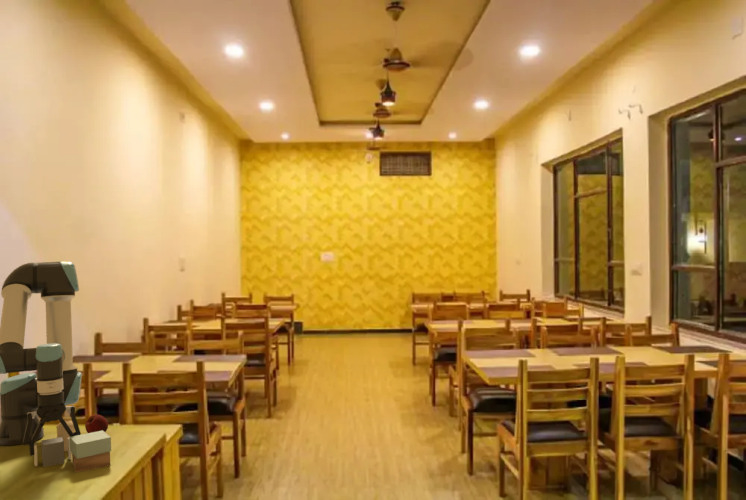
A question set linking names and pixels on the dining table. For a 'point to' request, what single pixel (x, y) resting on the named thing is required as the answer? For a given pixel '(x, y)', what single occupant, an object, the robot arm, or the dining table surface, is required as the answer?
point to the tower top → (90, 444)
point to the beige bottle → (65, 433)
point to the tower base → (91, 462)
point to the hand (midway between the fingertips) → (53, 461)
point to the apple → (96, 424)
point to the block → (52, 451)
